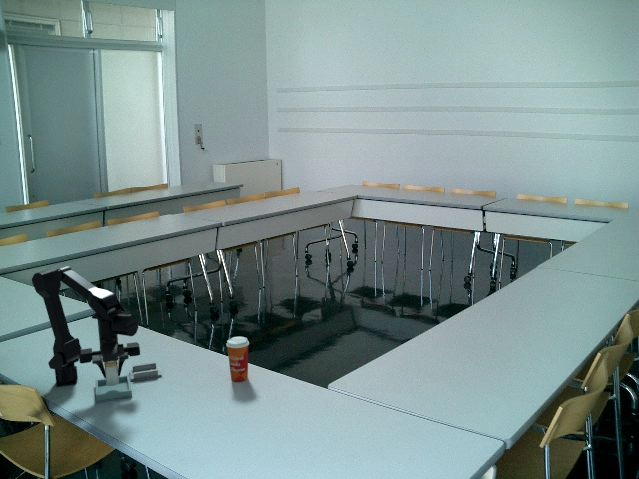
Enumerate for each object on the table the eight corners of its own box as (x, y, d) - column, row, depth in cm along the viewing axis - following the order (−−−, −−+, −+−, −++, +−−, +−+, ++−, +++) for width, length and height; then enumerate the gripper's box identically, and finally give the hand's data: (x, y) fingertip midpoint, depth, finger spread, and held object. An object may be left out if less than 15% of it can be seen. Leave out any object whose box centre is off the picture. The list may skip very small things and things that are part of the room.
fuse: (106, 386, 210) (104, 363, 208) (106, 381, 214) (103, 359, 212) (119, 384, 211) (117, 361, 210) (119, 379, 215) (116, 357, 214)
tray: (96, 402, 206) (95, 396, 205) (95, 386, 218) (95, 380, 217) (132, 396, 209) (131, 390, 209) (129, 380, 221) (129, 374, 221)
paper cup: (223, 381, 219) (221, 342, 217) (236, 372, 226) (234, 334, 223) (242, 385, 216) (240, 345, 213) (255, 376, 223) (253, 338, 220)
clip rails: (130, 381, 221) (130, 374, 220) (129, 372, 228) (128, 365, 228) (161, 376, 224) (161, 369, 224) (159, 368, 231) (158, 361, 231)
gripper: (76, 344, 199) (81, 391, 202) (139, 336, 205) (143, 382, 208) (77, 332, 209) (82, 377, 212) (137, 325, 215) (140, 369, 218)
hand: (112, 376), depth 212 cm, fingers closed on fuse, 4 cm apart
